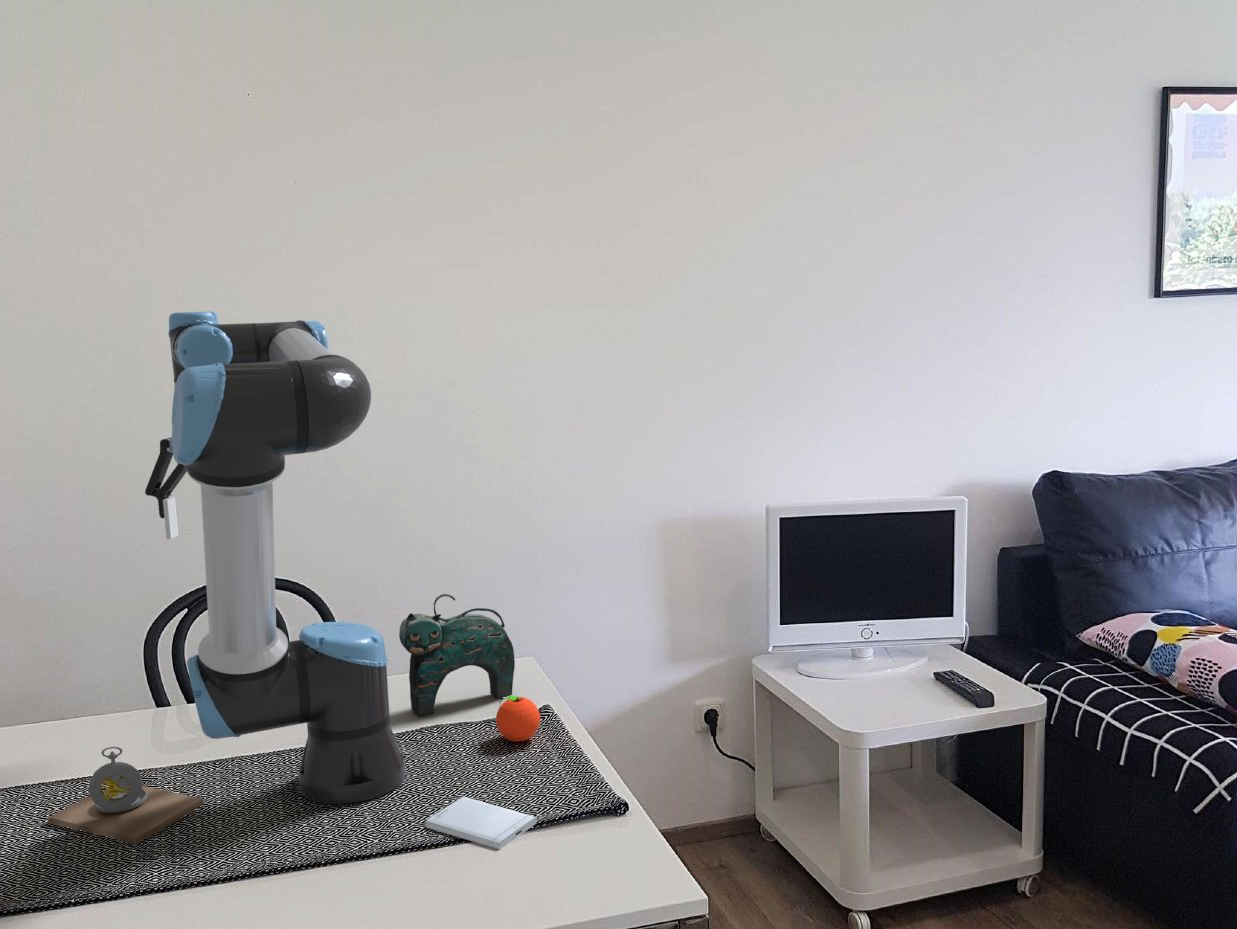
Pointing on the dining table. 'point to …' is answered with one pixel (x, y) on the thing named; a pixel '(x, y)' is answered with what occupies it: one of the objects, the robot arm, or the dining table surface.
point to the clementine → (517, 718)
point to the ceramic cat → (455, 653)
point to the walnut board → (128, 816)
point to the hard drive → (481, 822)
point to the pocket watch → (116, 786)
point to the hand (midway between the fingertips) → (212, 537)
